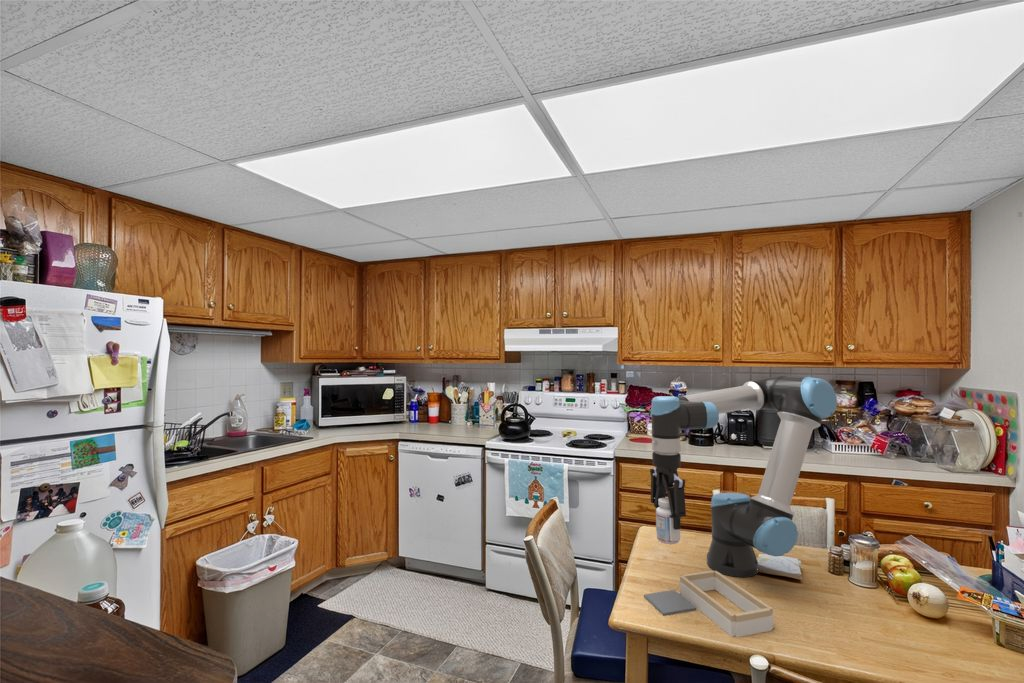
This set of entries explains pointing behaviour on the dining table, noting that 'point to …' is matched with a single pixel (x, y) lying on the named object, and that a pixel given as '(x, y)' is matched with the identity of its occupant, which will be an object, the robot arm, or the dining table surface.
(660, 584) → the dining table surface
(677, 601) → the coaster
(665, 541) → the pill bottle
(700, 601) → the beige frame
